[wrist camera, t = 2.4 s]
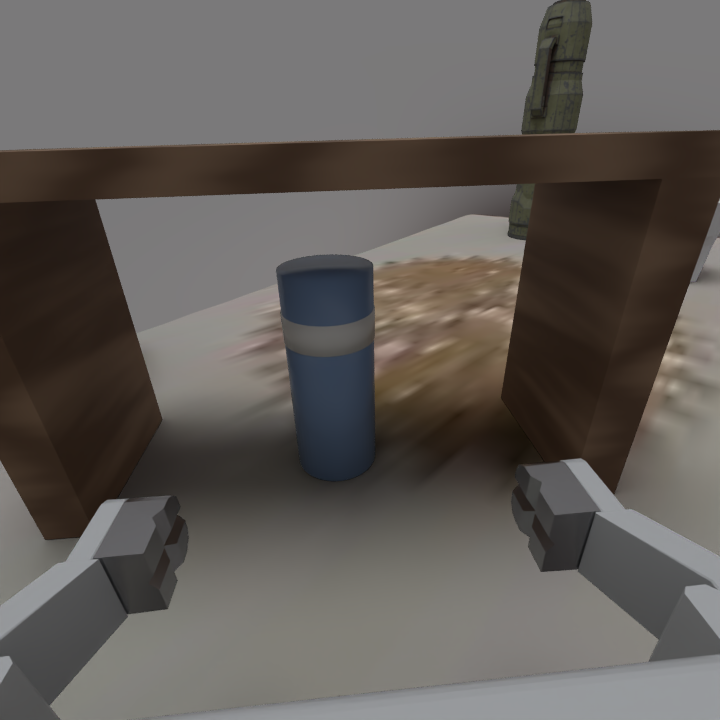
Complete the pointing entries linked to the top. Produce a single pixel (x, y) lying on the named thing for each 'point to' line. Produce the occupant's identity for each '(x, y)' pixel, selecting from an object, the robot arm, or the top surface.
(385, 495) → the top surface
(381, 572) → the top surface
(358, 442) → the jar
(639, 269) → the riser
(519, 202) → the thermos
